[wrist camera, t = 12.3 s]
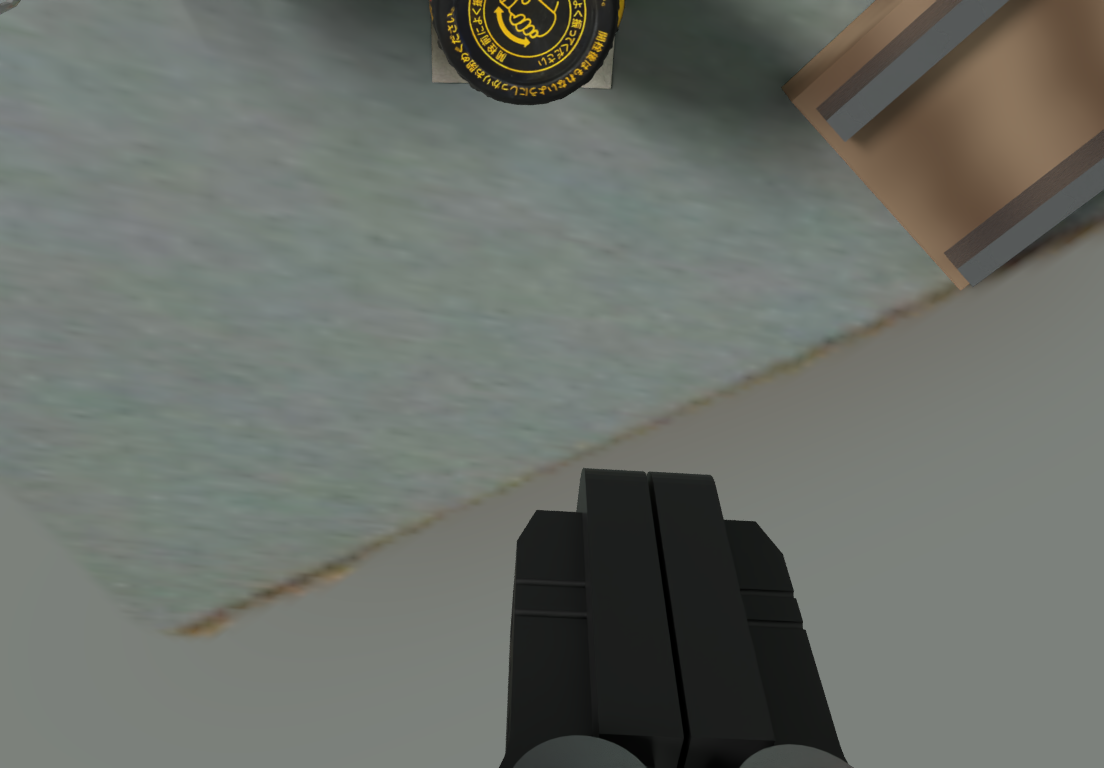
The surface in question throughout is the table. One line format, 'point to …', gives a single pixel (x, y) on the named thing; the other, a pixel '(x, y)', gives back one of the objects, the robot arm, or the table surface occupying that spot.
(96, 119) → the table surface
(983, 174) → the track board
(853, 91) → the track rails
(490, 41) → the condiment
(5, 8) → the french press
